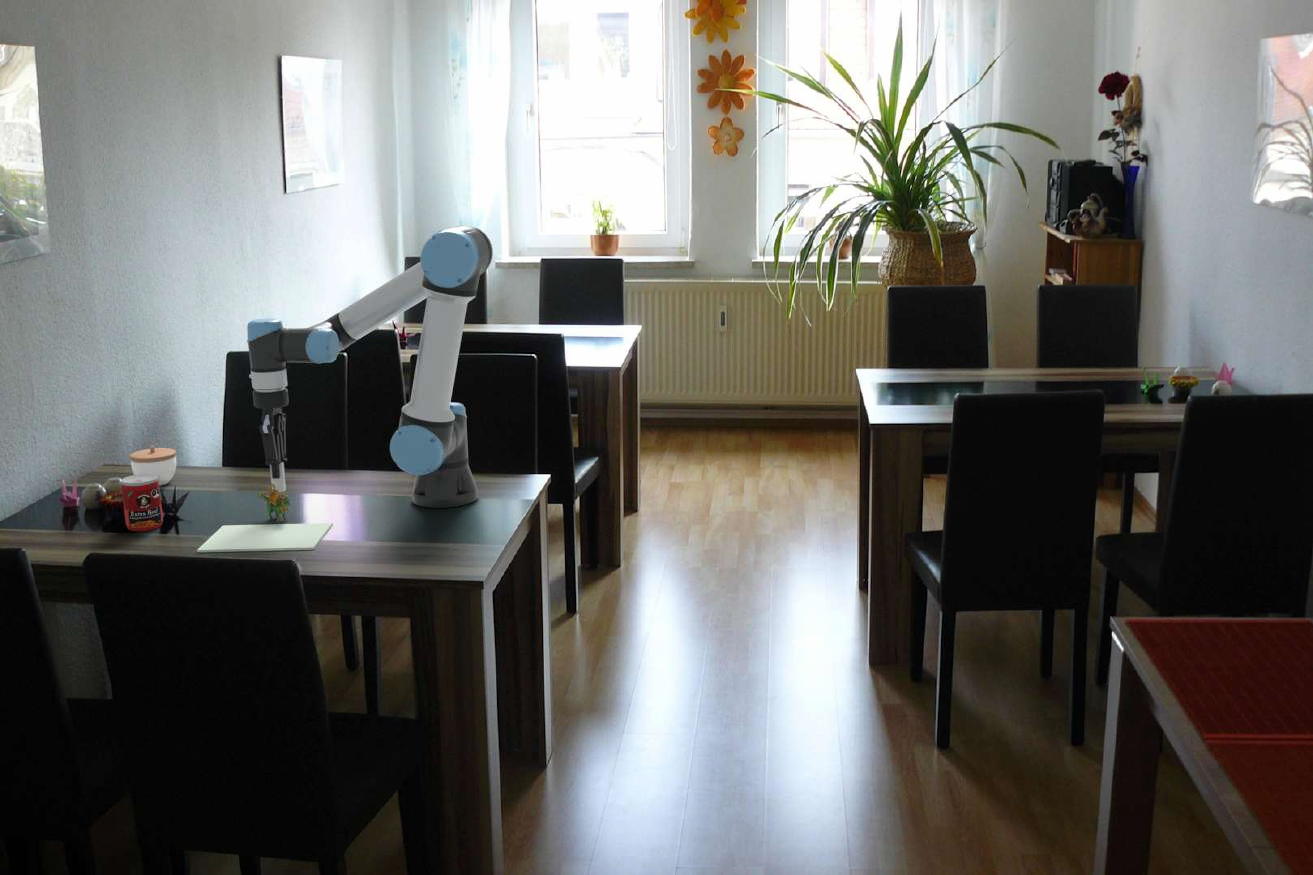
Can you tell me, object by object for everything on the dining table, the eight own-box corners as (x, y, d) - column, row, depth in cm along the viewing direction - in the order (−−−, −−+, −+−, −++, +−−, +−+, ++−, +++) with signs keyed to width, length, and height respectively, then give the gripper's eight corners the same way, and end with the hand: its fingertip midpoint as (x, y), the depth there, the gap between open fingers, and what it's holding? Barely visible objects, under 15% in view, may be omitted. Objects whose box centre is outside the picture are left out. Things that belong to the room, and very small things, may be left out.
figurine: (285, 525, 282) (282, 490, 280) (254, 516, 289) (251, 481, 288) (297, 522, 284) (294, 487, 282) (266, 513, 292) (262, 478, 290)
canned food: (128, 533, 278) (122, 484, 276) (124, 524, 285) (118, 476, 283) (165, 528, 282) (160, 480, 279) (161, 519, 289) (155, 471, 286)
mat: (332, 525, 282) (332, 522, 281) (313, 549, 265) (313, 547, 265) (223, 527, 281) (222, 525, 281) (197, 552, 265) (196, 550, 265)
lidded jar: (169, 488, 314) (165, 451, 312) (125, 489, 314) (121, 452, 312) (185, 477, 325) (181, 441, 322) (143, 477, 325) (139, 441, 323)
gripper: (261, 383, 291) (270, 483, 297) (244, 394, 278) (253, 499, 284) (294, 382, 291) (303, 483, 297) (278, 394, 278) (287, 498, 284)
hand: (279, 490), depth 290 cm, fingers closed
